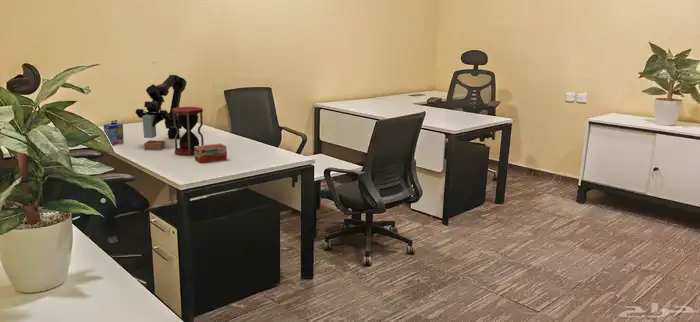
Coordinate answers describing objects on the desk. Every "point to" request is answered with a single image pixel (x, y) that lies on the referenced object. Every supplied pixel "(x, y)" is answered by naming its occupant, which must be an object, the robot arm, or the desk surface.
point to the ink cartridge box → (114, 132)
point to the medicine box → (210, 153)
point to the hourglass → (187, 129)
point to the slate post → (149, 126)
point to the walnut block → (154, 145)
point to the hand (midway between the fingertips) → (148, 126)
